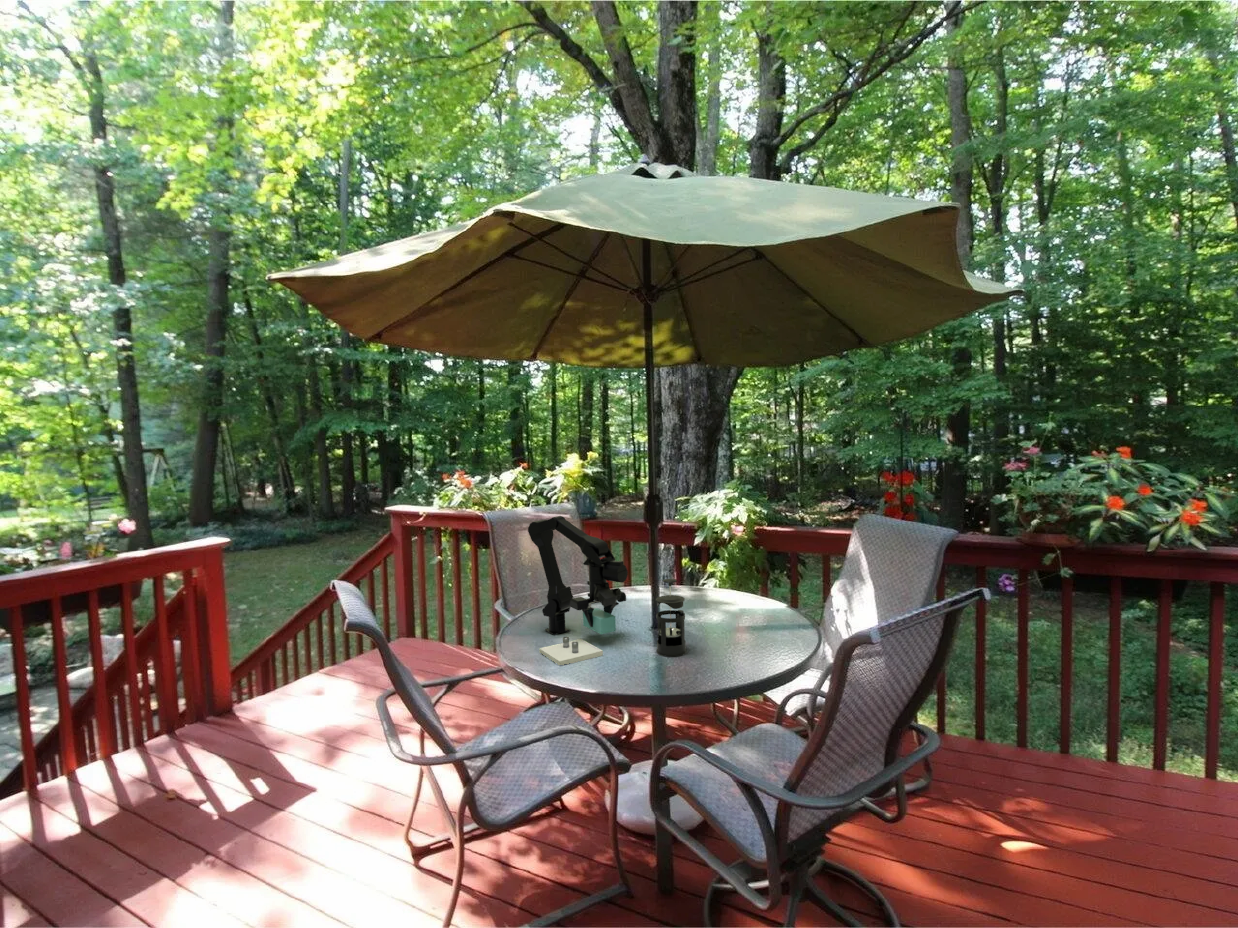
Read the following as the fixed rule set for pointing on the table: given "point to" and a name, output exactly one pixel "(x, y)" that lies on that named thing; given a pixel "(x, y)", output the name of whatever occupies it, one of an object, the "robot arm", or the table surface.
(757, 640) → the table surface
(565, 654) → the base plate
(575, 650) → the stubs
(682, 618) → the french press
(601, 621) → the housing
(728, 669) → the table surface
